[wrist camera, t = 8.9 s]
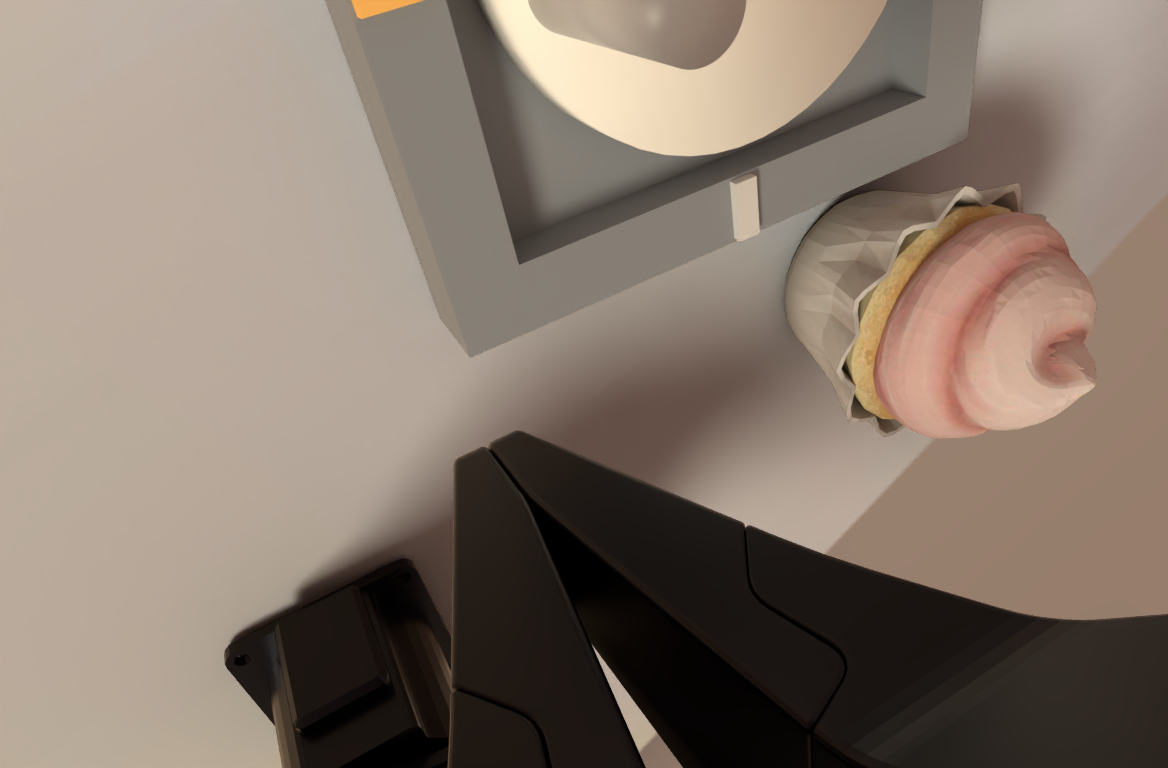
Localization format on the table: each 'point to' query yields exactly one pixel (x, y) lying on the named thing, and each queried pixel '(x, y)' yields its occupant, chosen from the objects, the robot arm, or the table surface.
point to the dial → (681, 63)
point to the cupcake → (943, 311)
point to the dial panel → (616, 159)
